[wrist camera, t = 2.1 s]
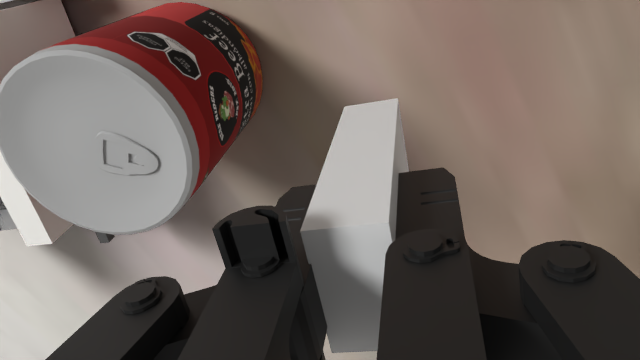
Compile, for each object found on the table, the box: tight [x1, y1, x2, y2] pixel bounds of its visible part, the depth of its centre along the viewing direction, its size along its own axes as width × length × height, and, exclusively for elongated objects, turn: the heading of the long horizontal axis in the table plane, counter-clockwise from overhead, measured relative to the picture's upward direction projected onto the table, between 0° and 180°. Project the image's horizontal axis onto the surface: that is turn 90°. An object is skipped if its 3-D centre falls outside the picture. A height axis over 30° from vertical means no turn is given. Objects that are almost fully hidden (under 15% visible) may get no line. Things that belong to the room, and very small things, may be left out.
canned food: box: [0, 2, 262, 235], centre depth 24 cm, size 8×8×11 cm
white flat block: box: [0, 0, 115, 246], centre depth 27 cm, size 13×2×8 cm, turn 12°
